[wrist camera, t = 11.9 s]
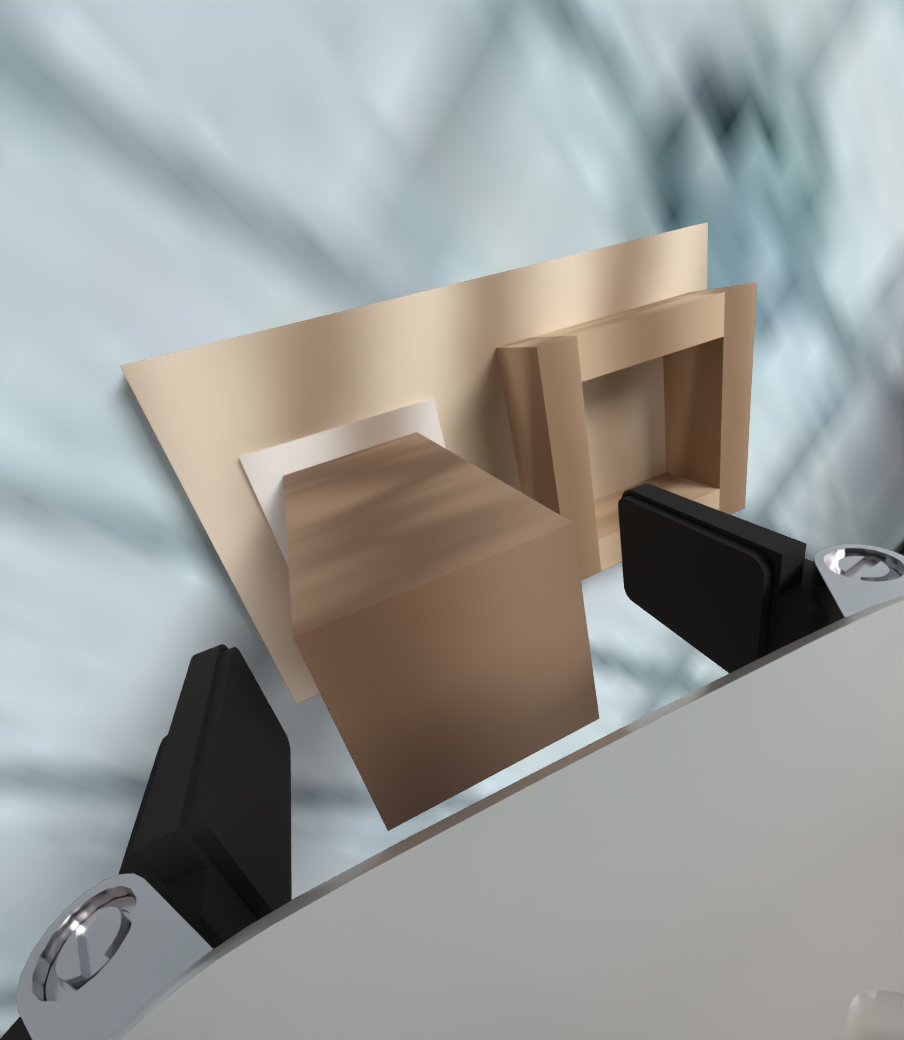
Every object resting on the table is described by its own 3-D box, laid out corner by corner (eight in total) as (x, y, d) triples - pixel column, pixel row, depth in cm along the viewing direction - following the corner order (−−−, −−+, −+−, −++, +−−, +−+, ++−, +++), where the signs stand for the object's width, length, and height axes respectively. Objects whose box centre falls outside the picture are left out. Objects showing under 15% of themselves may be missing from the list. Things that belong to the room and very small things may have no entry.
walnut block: (416, 431, 17) (572, 522, 8) (448, 546, 19) (599, 718, 10) (283, 475, 16) (292, 637, 7) (332, 592, 18) (388, 830, 9)
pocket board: (687, 228, 19) (780, 200, 16) (689, 519, 25) (756, 546, 21) (129, 364, 14) (80, 369, 11) (295, 688, 20) (299, 761, 16)
